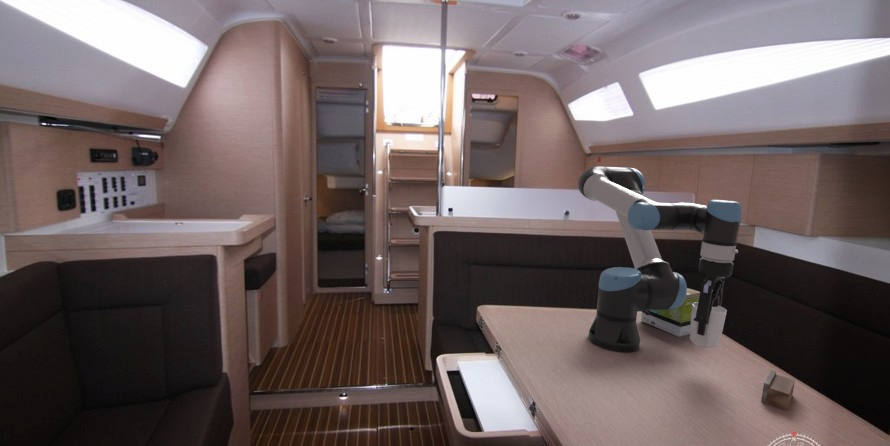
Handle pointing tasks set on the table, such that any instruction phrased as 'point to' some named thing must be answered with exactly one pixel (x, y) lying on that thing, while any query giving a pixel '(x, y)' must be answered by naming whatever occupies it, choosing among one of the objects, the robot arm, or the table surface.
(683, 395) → the table surface
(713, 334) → the white cup
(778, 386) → the block
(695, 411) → the table surface
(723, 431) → the table surface
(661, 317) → the tea box
